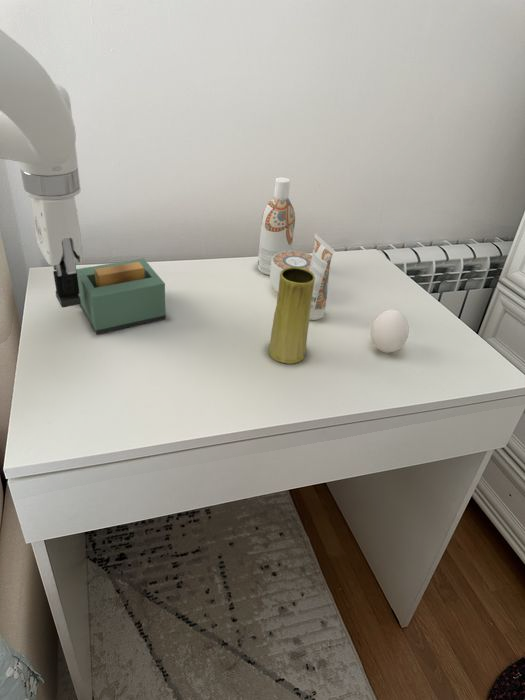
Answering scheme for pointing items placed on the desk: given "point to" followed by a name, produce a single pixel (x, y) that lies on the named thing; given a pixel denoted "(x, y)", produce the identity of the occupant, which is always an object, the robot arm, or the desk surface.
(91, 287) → the toaster
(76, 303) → the dark grey slab
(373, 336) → the egg
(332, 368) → the desk surface
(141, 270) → the golden wooden block
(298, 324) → the vase
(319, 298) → the cosmetic set
